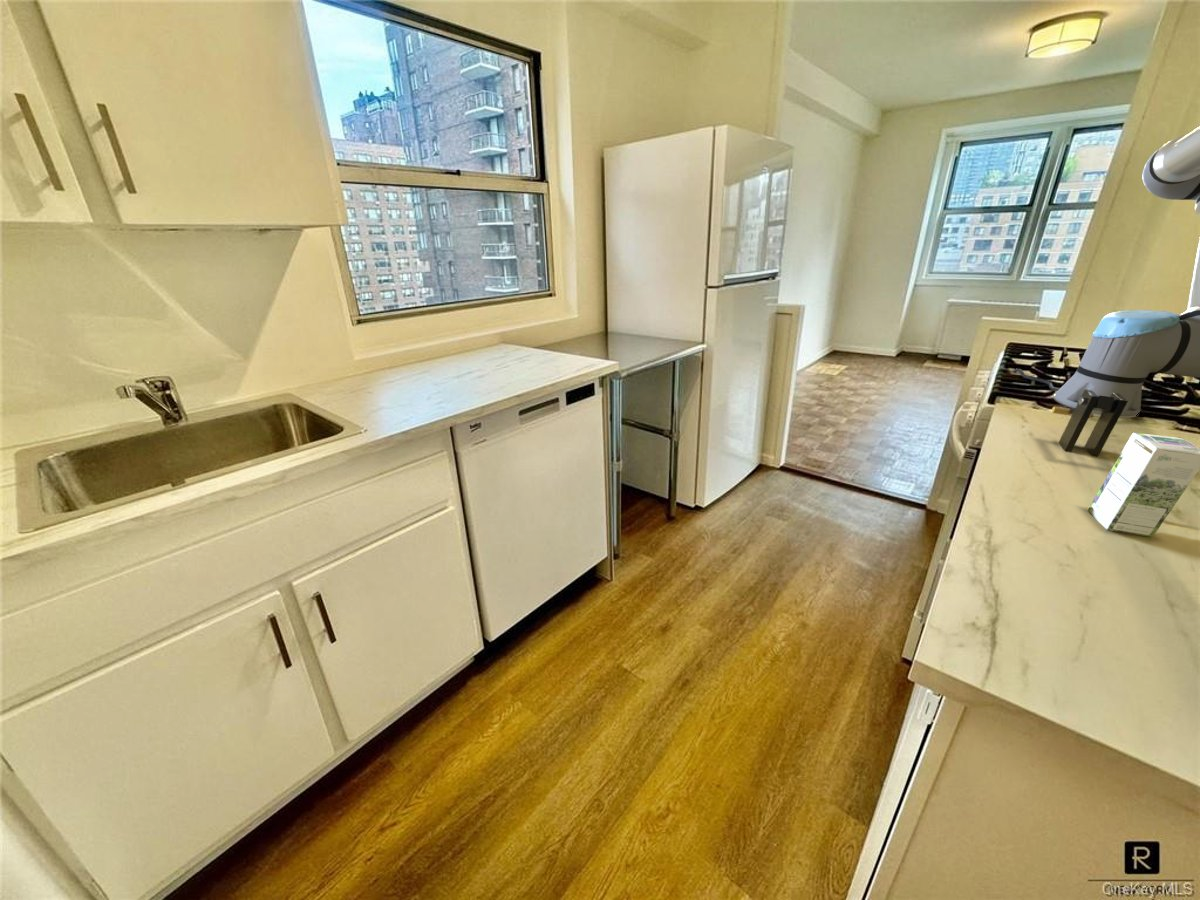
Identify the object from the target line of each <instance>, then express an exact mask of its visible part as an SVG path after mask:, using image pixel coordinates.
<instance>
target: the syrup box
mask: <svg viewBox="0 0 1200 900" xmlns="http://www.w3.org/2000/svg"><path fill="white" fill-rule="evenodd" d="M1199 470H1200V447H1198V446H1197V445H1196V444H1194V443H1193V442H1191V441H1189V440H1186V439H1184V438H1182V437H1177V436H1167V435H1157V434H1150V433H1149V434H1148V433H1139V432H1133V433H1131V435H1130V436H1129V439H1128V441H1127V442H1126V443H1125V445H1124V447H1123V449H1122V450H1121V452H1120V454H1119V456H1118V457H1117V459H1116V461H1115V462H1114V464H1113V466H1112V468H1111V469H1110V471H1109V473H1108V474H1107V476H1106V478H1105V480H1104V482H1103V484H1102V485H1101V487H1100V488H1099V490H1098V492H1097V494H1096V495H1095V497H1094V498H1093V500H1092V501H1091V504H1090V507H1088V509H1087V511H1088V513H1089V514H1090V515H1091V516H1092V517H1093V518H1094V519H1095V520H1096V521H1097V522H1098V523H1099V524H1100V525H1101V526H1102V527H1103V528H1104V529H1105V530H1107V531H1111V532H1118V533H1123V534H1130V535H1135V536H1142V537H1147V538H1148V537H1149V538H1153V537H1154V536H1155V535H1156V533H1157V531H1158V530H1159V528H1160V527H1161V526H1162V524H1163V523H1164V521H1165V520H1166V519H1167V517H1168V515H1169V514H1170V513H1171V512H1172V510H1173V509H1174V507H1175V506H1176V504H1177V503H1178V501H1179V500H1180V498H1181V497H1182V495H1183V494H1184V492H1185V491H1186V489H1187V488H1188V487H1189V485H1190V484H1191V482H1192V481H1193V479H1194V478H1195V476H1196V475H1197V473H1198V472H1199Z"/></svg>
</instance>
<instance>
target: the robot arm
mask: <svg viewBox="0 0 1200 900" xmlns="http://www.w3.org/2000/svg"><path fill="white" fill-rule="evenodd" d="M1141 174H1142V177H1141V178H1142V182H1143V185H1144V186H1145V188H1146V189H1147V191H1148V192H1149V193H1151V194H1152V195H1154V196H1156V197H1158V198H1160V199H1165V200H1171V201H1172V200H1175V201H1195V205H1194V213H1195V214H1196V215H1197V216H1199V217H1200V126H1198V127H1197V128H1195V129H1194V130H1192V131H1191V132H1189V133H1188V134H1183V135H1179V136H1177V137H1175V138H1173V139H1171V140H1170V141H1168V142H1167V143H1164V144H1163V145H1162V146H1160V147H1159V148H1158V149H1157V150H1156V151H1154V152H1153V154H1151V156H1150V157H1149V158H1148V160H1147V161H1146V162H1145V165H1144V167H1143V170H1142V173H1141ZM1198 239H1199V240H1198V245H1197V250H1196V257H1195V262H1194V268H1193V275H1192V279H1191V285H1190V291H1189V297H1188V302H1187V307H1186V311H1184V312H1183V313H1181V314H1179V313H1175V312H1172V311H1165V310H1151V309H1149V310H1148V309H1137V310H1133V309H1132V310H1121V311H1115V312H1111V313H1108V314H1106V315H1104V316H1103V318H1101V320H1100V322H1099V324H1098V325H1097V327H1096V329H1094V331H1093V332H1092V336H1091V339H1090V341H1089V343H1088V345H1087V347H1086V350H1085V352H1084V354H1083V356H1082V357H1081V360H1080V362H1079V365H1078V367H1077V369H1076V371H1075V372H1074V374H1073V375H1072V376H1071V377H1070V378H1069V379H1068V380H1067V381H1066V382H1065V383H1064V384H1063V385H1062V386H1061V387H1055V386H1054V383H1052V382H1051V381H1049V380H1045V379H1042V378H1037V377H1033V376H1030V375H1027V374H1026V373H1025V372H1024V371H1023V370H1022V369H1021V368H1016V369H1013V370H1012V371H1011V372H1012V373H1017V372H1018V373H1019V374H1020V376H1021V377H1022V378H1024V379H1027V380H1030V381H1034V382H1038V383H1043V384H1046V385H1048V387H1049V389H1050V390H1052V391H1056V393H1055V394H1054V395H1053V400H1054V401H1055V402H1057V403H1058V404H1060V405H1062V406H1064V407H1066V408H1069V409H1073V408H1076V406H1077V404H1078V402H1079V400H1080V398H1081V396H1082V394H1083V392H1084V390H1085V389H1088V390H1092V391H1093V392H1094V393H1095V394H1096V395H1097V396H1099V395H1100V396H1108V397H1110V396H1111V395H1112V393H1119V394H1120V395H1121V396H1123V397H1124V398H1125V399H1126V400H1127V401H1128V402H1127V404H1126V406H1125V408H1124V409H1123V411H1122V413H1121V415H1120V417H1119V418H1135V417H1137V416H1138V415H1139V414H1140V412H1141V406H1142V393H1143V392H1142V390H1143V385H1144V383H1145V381H1146V380H1147V377H1148V376H1149V374H1150V373H1154V374H1163V375H1170V376H1181V377H1188V378H1198V379H1200V238H1198ZM1138 413H1139V414H1138ZM1092 414H1093V415H1098V416H1101V414H1102V412H1100V411H1093V410H1092V412H1091V415H1092ZM1137 414H1138V415H1137ZM1136 415H1137V416H1136Z"/></svg>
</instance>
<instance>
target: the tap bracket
mask: <svg viewBox="0 0 1200 900" xmlns="http://www.w3.org/2000/svg"><path fill="white" fill-rule="evenodd" d="M1110 397H1114V402H1113V405H1112V409H1111V410H1109V411H1105V412H1102V414H1101V415H1099V418H1098V419H1097V421H1096V423H1095V424H1094V427H1093V429H1092V430H1091V432H1090V435H1089V436H1088V439H1087V441H1086V442H1085V444H1084V446H1083V448H1084V449H1085V450H1086V451H1087V453H1088V454H1089V455H1090V456H1091V457H1095V458H1098V457H1099V456H1100V453H1101V452H1102V451H1103V448H1104V446H1105V445H1106V442H1107V441H1108V439H1109V438H1110V435H1111V434H1112V432H1113V430H1114V428H1115V426H1116V424H1117V423H1118V421H1119V419H1120V418H1121V417H1120V415H1121V413H1122V411H1123V409H1124V408H1125V406H1126V404H1127V402H1128V401H1127V400H1126V399H1125V398H1124V397H1123V396H1121V395H1120V394H1119V393H1112V395H1111V396H1110ZM1098 399H1099V397H1098V396H1097V395H1096V394H1095V393H1094V392H1093V391H1092V390H1088V389H1085V390H1084V392H1083V394H1082V396H1081V398H1080V400H1079V402H1078V404H1077V406H1076V408H1075V410H1074V412H1073V414H1072V416H1070V419H1069V420H1068V423H1067V424H1066V427H1065V429H1064V431H1063V433H1062V435H1061V436H1060V439H1059V441H1058V444H1059V446H1060V447H1061V449H1062V450H1063V451H1064V452H1066V453H1072V451H1073V449H1074V448H1075V445H1076V444H1077V441H1078V439H1079V438H1080V436H1081V434H1082V432H1083V430H1084V428H1085V426H1086V424H1087V422H1088V420H1089V419H1090V418H1089V416H1090V414H1091V415H1092V413H1091V412H1092V410H1093V408H1094V406H1095V404H1096V403H1097V401H1098ZM1090 417H1091V416H1090Z"/></svg>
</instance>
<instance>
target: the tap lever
mask: <svg viewBox="0 0 1200 900" xmlns="http://www.w3.org/2000/svg"><path fill="white" fill-rule="evenodd" d="M1098 397H1099V399H1098V401H1097V403H1096V404H1095V406H1094V408H1093V411H1100V412H1105V411H1109V410H1111V409H1112V405H1113V402H1114V397H1108V396H1100V395H1099V396H1098ZM1074 410H1075V408H1069V407H1061V406H1053V407H1052V408H1051V411H1050V412H1051V414H1055V415H1063V416H1069V417H1071V416H1072V414H1073V412H1074ZM1091 417H1092V413H1091V414H1090V416H1089V418H1088V419H1090V418H1091Z"/></svg>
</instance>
